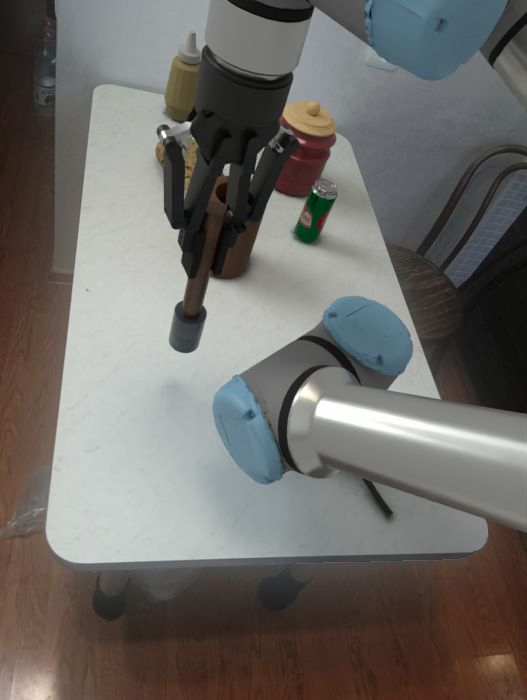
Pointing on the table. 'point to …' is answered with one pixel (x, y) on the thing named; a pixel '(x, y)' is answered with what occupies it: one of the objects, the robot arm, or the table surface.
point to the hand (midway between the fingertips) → (201, 268)
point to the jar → (245, 241)
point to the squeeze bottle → (183, 80)
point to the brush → (197, 286)
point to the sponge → (189, 160)
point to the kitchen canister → (306, 146)
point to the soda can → (316, 210)
